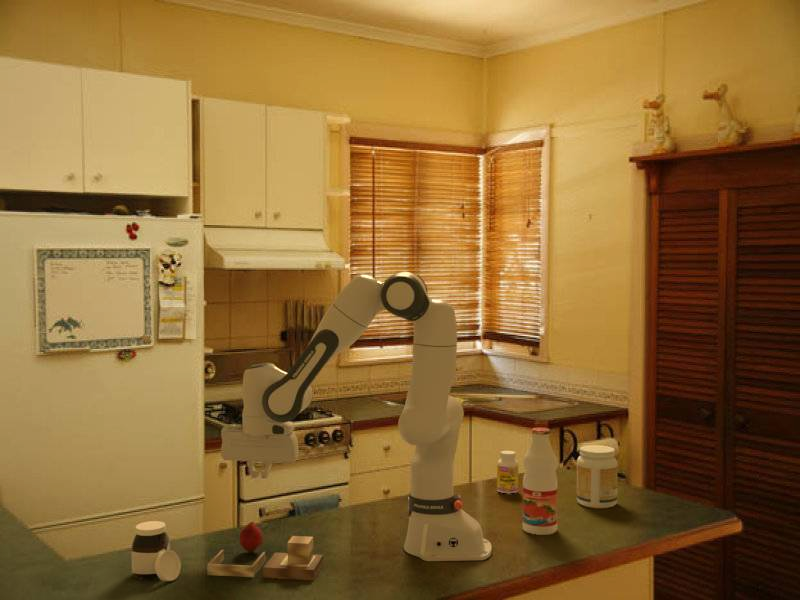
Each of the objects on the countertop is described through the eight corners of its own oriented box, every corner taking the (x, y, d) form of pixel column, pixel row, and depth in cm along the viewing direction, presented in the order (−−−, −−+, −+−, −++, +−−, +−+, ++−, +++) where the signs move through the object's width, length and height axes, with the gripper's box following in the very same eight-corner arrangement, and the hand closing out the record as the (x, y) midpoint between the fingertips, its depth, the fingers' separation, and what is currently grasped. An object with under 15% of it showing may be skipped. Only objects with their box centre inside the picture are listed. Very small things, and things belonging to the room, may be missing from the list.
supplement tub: (616, 499, 262) (617, 445, 261) (617, 510, 250) (618, 454, 250) (576, 496, 265) (577, 443, 264) (575, 507, 253) (576, 452, 252)
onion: (257, 557, 211) (257, 525, 210) (235, 555, 212) (235, 524, 212) (265, 549, 217) (265, 518, 216) (244, 547, 218) (244, 517, 217)
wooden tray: (323, 565, 206) (323, 554, 206) (313, 580, 196) (313, 569, 196) (221, 559, 209) (221, 549, 209) (207, 574, 199) (207, 563, 199)
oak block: (313, 557, 203) (313, 536, 203) (308, 564, 198) (308, 543, 198) (292, 556, 204) (292, 535, 204) (287, 563, 199) (287, 542, 199)
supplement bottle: (496, 494, 268) (496, 454, 267) (497, 488, 274) (497, 449, 273) (517, 495, 266) (518, 455, 266) (518, 489, 273) (518, 450, 272)
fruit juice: (561, 527, 235) (562, 427, 233) (551, 537, 226) (552, 433, 225) (528, 522, 239) (529, 424, 237) (517, 532, 230) (518, 430, 229)
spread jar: (142, 566, 205) (141, 518, 204) (188, 566, 205) (188, 519, 204) (124, 585, 193) (123, 535, 192) (173, 586, 193) (173, 535, 192)
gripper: (217, 426, 219) (217, 479, 220) (294, 428, 216) (294, 482, 217) (225, 421, 225) (225, 473, 226) (300, 423, 223) (300, 475, 223)
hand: (259, 477), depth 221 cm, fingers closed
